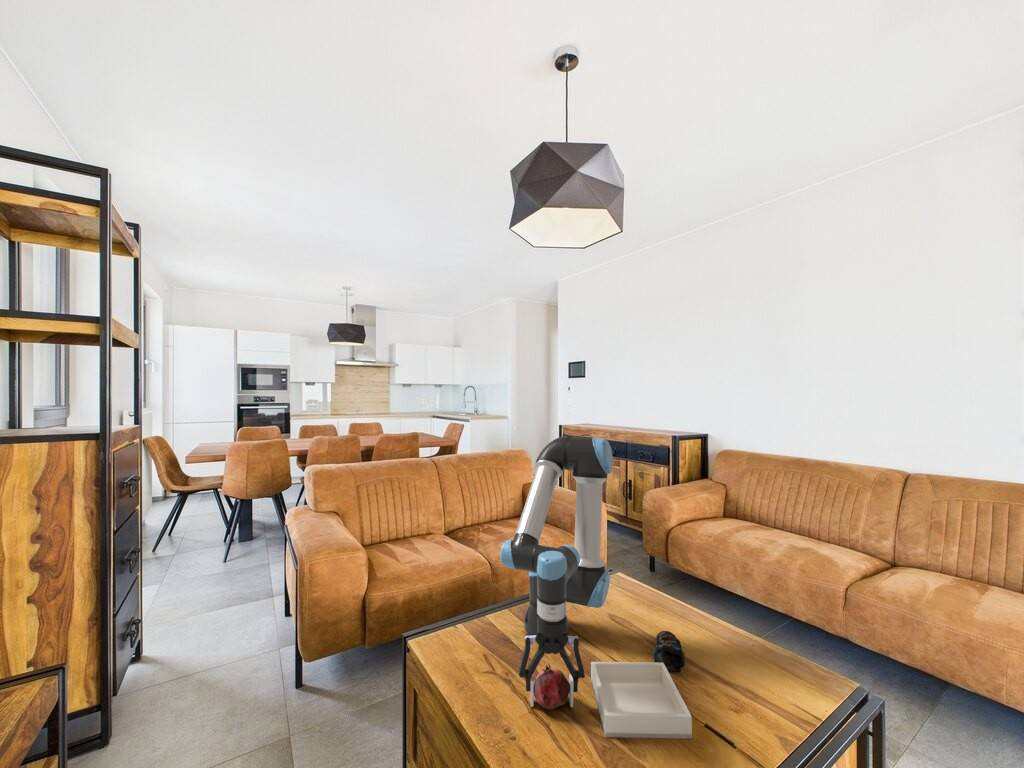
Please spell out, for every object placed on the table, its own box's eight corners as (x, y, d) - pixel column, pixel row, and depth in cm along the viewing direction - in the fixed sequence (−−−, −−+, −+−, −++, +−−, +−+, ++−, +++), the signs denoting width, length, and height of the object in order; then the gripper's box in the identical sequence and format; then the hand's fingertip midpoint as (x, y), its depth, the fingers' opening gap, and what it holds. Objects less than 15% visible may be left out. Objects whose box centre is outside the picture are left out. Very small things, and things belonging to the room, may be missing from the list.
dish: (605, 737, 101) (605, 715, 101) (591, 679, 121) (591, 661, 121) (691, 738, 101) (691, 716, 101) (663, 680, 121) (663, 662, 121)
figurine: (649, 652, 124) (651, 620, 138) (657, 680, 124) (658, 645, 138) (681, 650, 121) (679, 618, 135) (689, 679, 121) (687, 643, 135)
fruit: (577, 704, 112) (577, 665, 112) (552, 723, 105) (552, 681, 105) (551, 686, 118) (551, 649, 119) (526, 703, 112) (526, 664, 112)
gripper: (508, 622, 109) (508, 713, 108) (597, 623, 108) (597, 714, 108) (509, 607, 116) (508, 692, 116) (592, 608, 116) (592, 693, 115)
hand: (551, 703), depth 112 cm, fingers closed on fruit, 9 cm apart
